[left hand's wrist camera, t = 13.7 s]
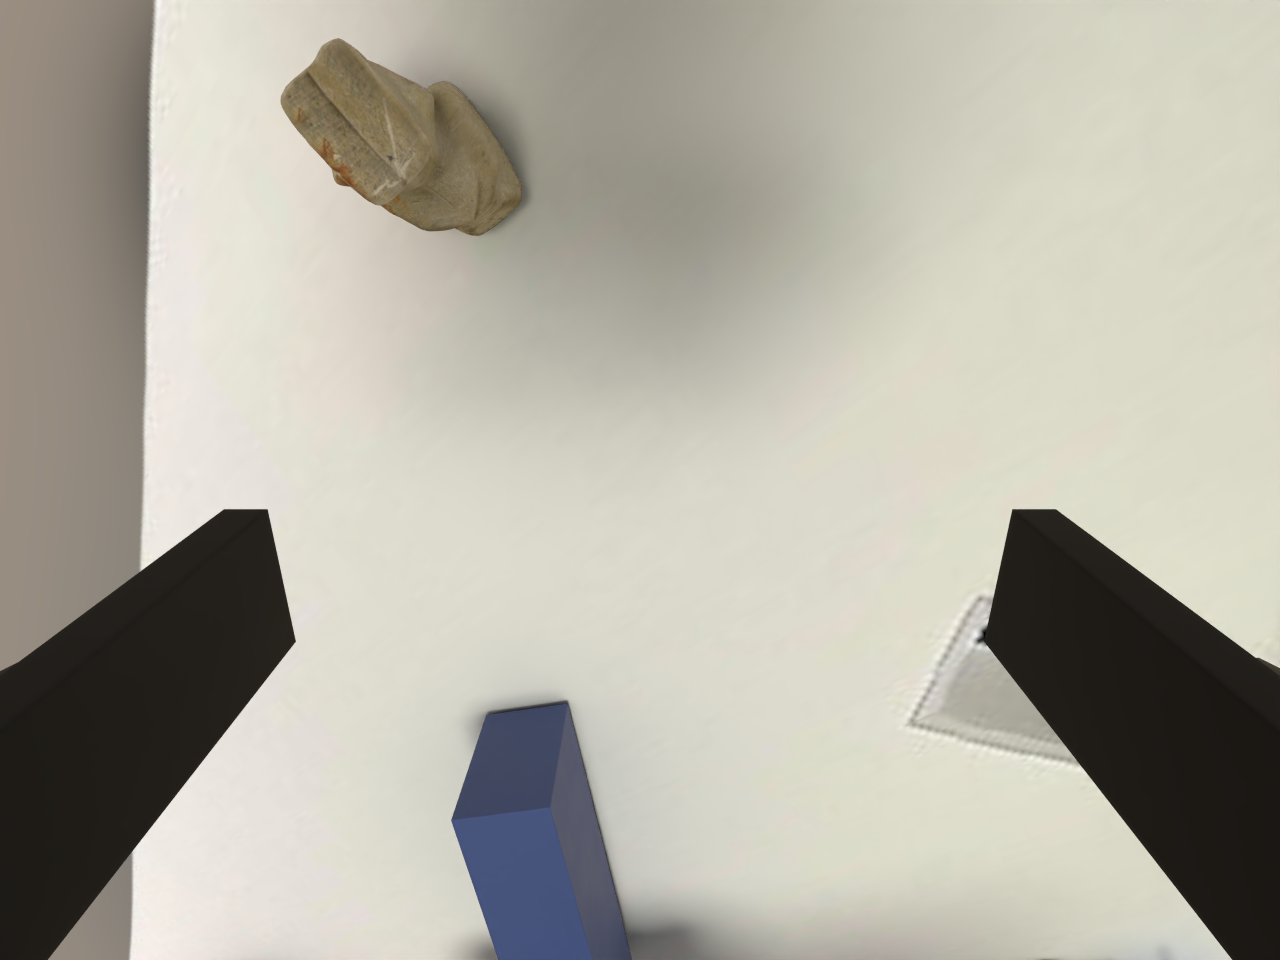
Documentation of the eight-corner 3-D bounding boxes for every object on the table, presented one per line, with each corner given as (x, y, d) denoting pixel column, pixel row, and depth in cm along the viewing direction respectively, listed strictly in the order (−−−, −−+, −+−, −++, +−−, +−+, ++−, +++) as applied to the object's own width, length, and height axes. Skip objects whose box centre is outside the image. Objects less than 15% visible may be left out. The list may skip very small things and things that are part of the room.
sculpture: (465, 66, 37) (360, -15, 23) (549, 189, 39) (499, 183, 25) (382, 137, 38) (234, 100, 24) (468, 251, 40) (377, 279, 26)
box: (486, 714, 52) (450, 820, 43) (567, 703, 52) (550, 807, 42) (564, 975, 61) (548, 1109, 52) (634, 967, 61) (631, 1101, 52)
